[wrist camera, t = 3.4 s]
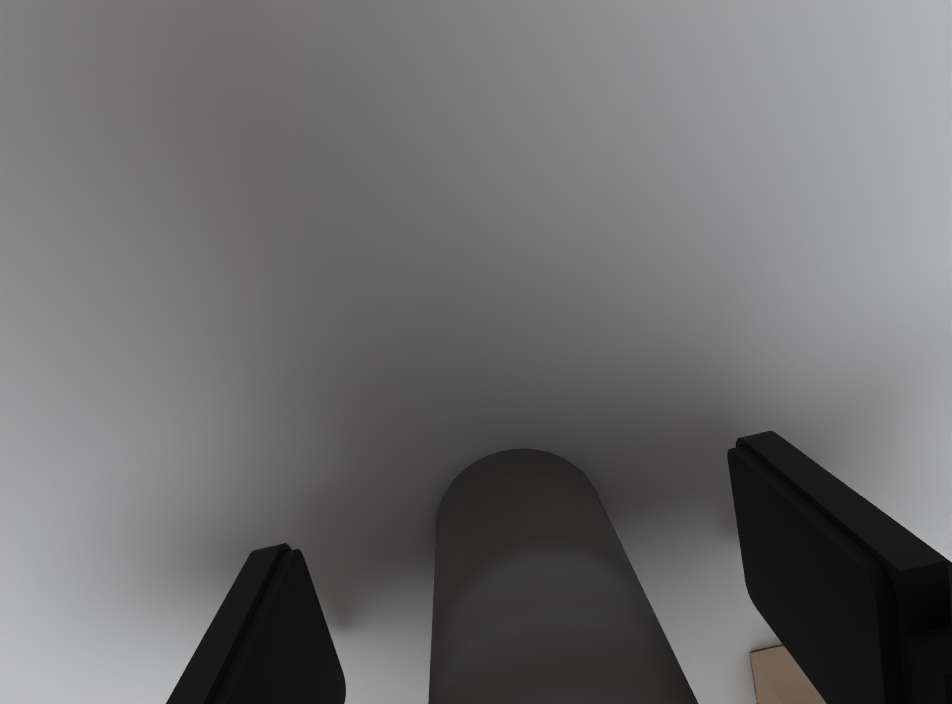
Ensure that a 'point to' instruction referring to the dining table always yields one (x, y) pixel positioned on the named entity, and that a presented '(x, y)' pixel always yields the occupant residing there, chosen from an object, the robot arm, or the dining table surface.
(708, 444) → the dining table surface
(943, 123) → the dining table surface
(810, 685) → the wooden stand
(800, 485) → the robot arm
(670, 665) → the wooden lever toy
